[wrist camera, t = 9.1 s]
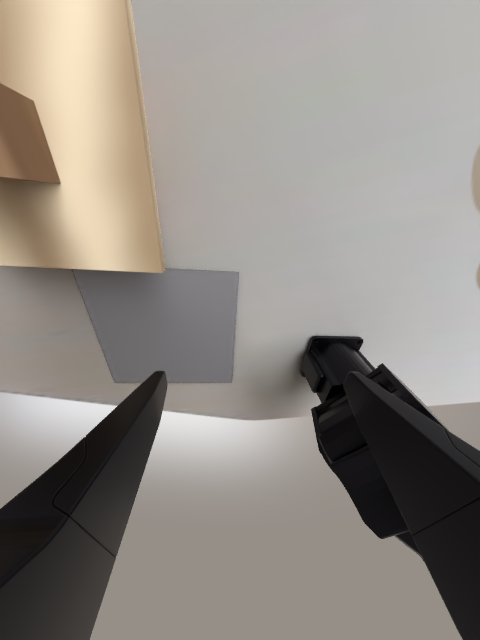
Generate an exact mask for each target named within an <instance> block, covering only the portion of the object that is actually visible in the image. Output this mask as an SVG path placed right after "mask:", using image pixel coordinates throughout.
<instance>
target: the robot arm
mask: <svg viewBox="0 0 480 640" xmlns="http://www.w3.org/2000/svg"><path fill="white" fill-rule="evenodd" d="M314 340H316V341H314ZM362 343H363V339H362V338H361V337H340V336H313V337H312V338H311V340H310V343H309V346H308V349H307V351H306V353H305V356H304V359H303V362H302V365H301V371H300V373H301V376H303V377H306V379H307V381H308V383H309V385H310V387H311V390H312V391H313V392H314V393H317V395H318V397H319V399H320V401H321V403H322V404H320V405H319V406H317V407H314V408H312V409H311V411H312V417H313V422H314V427H315V432H316V438H317V443H318V448H319V451H320V453H321V454H322V456H323V458H324V459H325V461H326V463H327V464H328V466H329V467H330V468H331V469H332V471H333V472H334V473H335V474H336V475H337V477H338V478H339V479H340V481H341V482H342V484H343V485H344V487H345V488H346V490H347V492H348V493H349V495H350V497H351V499H352V501H353V502H354V504H355V506H356V508H357V510H358V512H359V514H360V516H361V518H362V520H363V521H364V523H365V524H366V525H367V526H368V527H369V528H370V529H371V530H372V531H373V532H374V533H375V534H376V535H377V536H378V537H379V538H381V539H384V538H388V537H391V536H395V537H396V538H398V539H399V540H400V541H402V542H403V543H404V544H405V545H407V546H408V547H409V548H411V549H412V550H413V551H414V552H416V553H417V554H418V555H419V556H420V557H421V558H422V559H423V561H424V562H425V564H426V566H427V568H428V570H429V571H430V574H431V576H432V578H433V580H434V582H435V584H436V586H437V588H438V591H439V593H440V595H441V597H442V599H443V601H444V603H445V605H446V607H447V609H448V611H449V613H450V615H451V617H452V620H453V622H454V624H455V626H456V628H457V630H458V632H459V633H460V635H461V637H462V639H463V640H480V451H479V450H477V449H476V448H474V447H472V446H471V445H469V444H468V443H466V442H464V441H463V440H461V439H460V438H458V437H457V436H455V435H454V434H452V433H451V432H449V430H448V429H447V428H446V427H445V426H444V425H443V424H442V423H441V422H440V421H439V420H438V418H437V417H436V416H435V415H434V414H433V413H432V412H431V411H430V410H429V409H428V408H427V406H426V405H425V404H424V403H423V402H422V401H421V400H420V399H419V398H418V397H417V396H416V395H415V394H414V393H413V392H412V391H411V390H410V389H409V388H408V387H407V386H406V385H405V384H404V383H403V382H402V381H401V380H400V379H399V378H398V377H396V376H395V375H394V374H393V373H392V372H391V371H390V370H389V369H388V368H387V367H386V366H385V365H384V364H383V363H382V364H381V365H379V366H377V367H378V368H376V369H375V368H374V367H373V366H372V365H371V364H370V362H369V361H368V360H367V359H366V358H365V357H364V356H363V355H362V354H361V352H360V351H359V350H360V347H361V345H362ZM166 391H167V378H166V373H165V371H155V372H154V373H153V374H152V375H150V376H149V377H148V378H147V379H146V380H145V381H144V382H143V383H142V384H141V385H140V386H139V387H138V388H137V389H135V390H134V391H133V392H132V393H131V394H130V395H129V396H128V397H127V398H126V399H125V400H124V401H123V402H122V403H120V404H119V405H118V406H117V407H116V408H115V409H114V410H113V411H112V412H111V413H110V414H109V415H108V416H107V417H105V419H103V420H102V421H101V422H100V423H99V424H98V425H97V426H96V427H95V428H94V429H93V430H91V431H90V432H89V433H88V434H87V435H86V437H84V438H83V439H82V440H81V441H80V442H79V443H77V444H76V445H75V446H74V447H73V448H72V449H71V450H70V451H69V452H68V453H67V454H65V455H64V456H63V457H62V458H61V459H60V460H59V461H58V462H56V463H55V464H54V465H53V466H52V467H50V468H49V469H48V470H47V471H46V472H45V473H43V474H42V475H41V476H40V477H39V478H37V479H36V480H35V481H34V482H33V483H31V484H30V485H29V486H28V487H26V488H25V489H24V490H23V491H22V492H20V493H19V494H18V495H17V496H15V497H14V498H13V499H12V500H11V501H9V502H8V503H7V504H6V505H4V506H3V507H2V508H1V509H0V640H90V637H91V634H92V630H93V627H94V624H95V621H96V618H97V615H98V611H99V609H100V606H101V603H102V600H103V596H104V593H105V590H106V587H107V584H108V581H109V578H110V575H111V572H112V569H113V565H114V562H115V559H116V558H115V557H116V556H117V553H118V550H119V547H120V544H121V540H122V537H123V534H124V531H125V528H126V525H127V522H128V519H129V516H130V513H131V509H132V507H133V504H134V500H135V497H136V494H137V491H138V488H139V485H140V482H141V479H142V476H143V473H144V470H145V466H146V463H147V460H148V457H149V454H150V451H151V448H152V445H153V442H154V439H155V435H156V432H157V430H158V426H159V423H160V420H161V415H162V410H163V405H164V401H165V396H166Z"/></svg>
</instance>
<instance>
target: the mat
mask: <svg viewBox="0 0 480 640" xmlns="http://www.w3.org/2000/svg"><path fill="white" fill-rule="evenodd" d="M165 269H166V268H165ZM72 271H73V274H74V276H75V279H76V281H77V284H78V287H79V289H80V292H81V295H82V297H83V300H84V303H85V305H86V308H87V311H88V313H89V316H90V319H91V321H92V324H93V326H94V329H95V332H96V334H97V337H98V340H99V342H100V345H101V348H102V350H103V353H104V356H105V358H106V361H107V364H108V366H109V369H110V371H111V374H112V377H113V379H114V382H115V383H143V382H144V381H145V380H146V379H147V378H148V377H149V376H150V375H152V374H153V373H154V372H155V371H165V373H166V378H167V383H232V370H233V355H234V340H235V325H236V310H237V296H238V281H239V272H226V271H206V270H186V269H166V270H165V271H164V272H163V273H149V272H129V271H108V270H87V269H72Z"/></svg>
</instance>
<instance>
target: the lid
mask: <svg viewBox="0 0 480 640" xmlns="http://www.w3.org/2000/svg"><path fill="white" fill-rule="evenodd" d="M0 265H3V266H24V267H45V268H66V269H87V270H108V271H129V272H149V273H163V272H164V271H165V270H166V269H165V261H164V253H163V245H162V238H161V230H160V222H159V214H158V206H157V199H156V191H155V183H154V175H153V168H152V160H151V152H150V144H149V137H148V129H147V121H146V113H145V105H144V98H143V90H142V82H141V74H140V67H139V59H138V51H137V43H136V35H135V28H134V20H133V12H132V4H131V0H0Z"/></svg>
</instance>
